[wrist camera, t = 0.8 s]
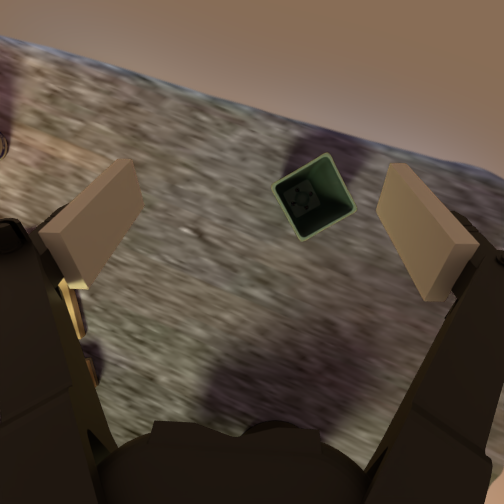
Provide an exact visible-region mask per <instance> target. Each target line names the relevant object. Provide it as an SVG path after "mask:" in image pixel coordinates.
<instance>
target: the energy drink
mask: <svg viewBox="0 0 504 504" xmlns="http://www.w3.org/2000/svg"><path fill="white" fill-rule="evenodd" d="M6 152H7V142H6V139H5V137H4V136H3V134H2V133H1V132H0V160H2V159H3V158H4V157H5V155H6Z"/></svg>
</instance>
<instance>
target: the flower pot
mask: <svg viewBox="0 0 504 504" xmlns="http://www.w3.org/2000/svg"><path fill="white" fill-rule="evenodd" d="M297 188H298V189H299V191H296V189H297ZM271 189H272V192H273V194H274V195H275V197H276V199H277V201H278V203H279V204H280V206H281V208H282V210H283V212H284V213H285V215H286V217H287V219H288V221H289V223H290V225H291V226H292V228H293V230H294V232H295V234H296V235H297V237H298V239H299V240H300V241H305V240H307V239H309V238H311V237H312V236H314V235H316V234H317V233H319V232H321V231H323V230H324V229H326V228H328V227H329V226H331V225H333V224H335V223H337V222H338V221H340V220H342V219H344V218H346V217H347V216H349V215H351V214H353V213H354V212H356V211H357V206H356V204H355V202H354V200H353V198H352V196H351V194H350V193H349V191H348V189H347V187H346V185H345V183H344V181H343V179H342V177H341V175H340V173H339V171H338V169H337V167H336V165H335V163H334V161H333V158H332V156H331V155H330V154H329V153H328V152H326V153H324V154H322V155H320V156H319V157H317V158H316V159H314V160H312V161H311V162H309V163H307V164H306V165H304V166H302V167H300V168H299V169H297V170H295V171H294V172H292V173H290V174H289V175H287V176H285V177H283V178H282V179H280V180H278V181H276V182H274V183H273V184H272V185H271ZM310 192H312V195H309V193H310ZM292 202H294V203H295V205H292ZM305 206H308V209H305Z"/></svg>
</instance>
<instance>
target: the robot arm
mask: <svg viewBox="0 0 504 504" xmlns="http://www.w3.org/2000/svg"><path fill="white" fill-rule="evenodd" d="M144 206H145V205H144V202H143V198H142V194H141V191H140V187H139V183H138V179H137V176H136V172H135V168H134V165H133V161H132V159H117V160H116V161H115V162H114V163H113V164H112V165H110V166H109V167H108V168H107V169H106V170H105V171H104V172H103V173H102V174H101V175H100V176H98V177H97V178H96V179H95V180H94V181H93V182H92V183H91V184H90V185H89V186H88V187H87V188H85V189H84V190H83V191H82V192H81V193H80V194H79V195H78V196H77V197H76V198H75V199H74V200H72V201H71V202H70V203H68V204H66V205H64V206H62V207H60V208H58V209H57V210H56V211H55V212H54V213H52V214H51V215H50V217H48V218H47V219H46V220H45V221H44V222H42V223H41V224H40V225H39V226H38V227H37V228H36V229H35V230H34V231H32V232H31V233H30V234H29V235H28V234H27V232H26V230H25V229H24V227H23V225H22V224H21V222H20V221H19V220H18V219H14V218H4V219H0V412H1V424H0V504H484V502H485V498H486V494H487V490H488V486H489V482H490V478H491V473H492V460H491V458H489V457H488V456H486V455H485V448H486V444H487V440H488V436H489V433H490V429H491V426H492V422H493V418H494V415H495V411H496V408H497V404H498V401H499V397H500V393H501V390H502V386H503V383H504V251H503V250H496V249H495V248H494V246H493V245H492V244H491V243H490V242H489V241H488V240H487V239H486V238H485V237H484V236H483V235H482V234H481V233H478V230H477V229H476V228H475V227H474V226H473V225H472V224H471V223H470V222H469V221H468V220H467V219H466V217H464V216H462V215H460V214H459V213H457V212H455V211H449V210H448V209H447V208H446V207H445V206H444V205H443V203H442V202H441V201H440V200H439V199H438V198H437V197H436V196H435V195H434V194H433V192H432V191H431V190H430V189H429V188H428V187H427V186H426V185H425V184H424V183H423V182H422V180H421V179H420V178H419V177H418V176H417V175H416V174H415V173H414V172H413V171H412V170H411V168H410V167H409V166H408V165H407V164H406V163H390V165H389V168H388V172H387V175H386V178H385V182H384V185H383V188H382V192H381V195H380V198H379V202H378V205H377V208H376V213H377V214H378V216H379V218H380V220H381V222H382V224H383V226H384V228H385V229H386V231H387V233H388V235H389V237H390V239H391V241H392V242H393V244H394V246H395V248H396V250H397V252H398V254H399V256H400V257H401V259H402V261H403V263H404V265H405V267H406V269H407V271H408V272H409V274H410V276H411V278H412V280H413V282H414V284H415V285H416V287H417V289H418V291H419V293H420V295H421V297H422V299H423V300H424V301H431V302H445V301H446V299H447V297H448V296H449V294H450V292H451V291H452V292H453V293H454V295H455V296H456V298H457V300H456V301H455V303H454V304H453V306H452V307H451V309H450V310H449V312H448V314H447V315H446V317H445V318H444V319H445V321H444V323H443V325H442V327H441V329H440V331H439V332H438V334H437V336H436V338H435V340H434V342H433V344H432V346H431V348H430V349H429V351H428V353H427V355H426V357H425V359H424V361H423V363H422V365H421V367H420V368H419V370H418V372H417V374H416V376H415V378H414V380H413V382H412V384H411V385H410V387H409V389H408V391H407V393H406V395H405V397H404V399H403V401H402V403H401V404H400V406H399V408H398V410H397V412H396V414H395V416H394V418H393V420H392V422H391V423H390V425H389V427H388V429H387V431H386V433H385V435H384V437H383V439H382V440H381V442H380V444H379V446H378V448H377V450H376V451H375V453H374V455H373V456H372V458H371V460H370V461H369V463H368V465H367V466H366V468H365V470H364V471H363V470H362V469H361V468H360V467H359V466H358V465H357V464H356V463H355V462H354V461H353V460H351V459H350V458H349V457H348V456H346V455H345V454H343V453H342V452H340V451H339V450H337V449H336V448H334V447H332V446H330V445H328V444H325V443H323V442H320V433H319V430H315V429H300V428H298V427H297V426H295V425H293V424H290V423H287V422H282V421H268V422H264V423H260V424H258V425H256V426H254V427H252V428H250V429H249V430H247V431H246V432H245V433H244V434H243V435H242V436H240V437H232V436H229V435H226V434H223V433H220V432H218V431H215V430H212V429H210V428H207V427H204V426H201V425H199V424H196V423H190V422H172V421H154V424H153V428H152V431H151V433H148V434H145V435H142V436H139V437H137V438H135V439H133V440H131V441H129V442H127V443H125V444H123V445H122V446H120V447H119V448H118V446H117V444H116V442H115V440H114V439H113V437H112V434H111V432H110V430H109V427H108V424H107V421H106V418H105V415H104V412H103V410H102V407H101V404H100V401H99V398H98V395H97V392H96V389H95V386H94V383H93V380H92V378H91V375H90V372H89V369H88V366H87V363H86V360H85V357H84V354H83V351H82V348H81V346H80V343H79V340H78V337H77V334H76V331H75V328H74V325H73V322H72V319H71V316H70V314H69V311H68V308H67V305H66V302H65V299H64V296H63V293H62V291H61V289H60V287H59V286H58V284H59V283H60V282H61V281H62V279H63V278H64V279H65V281H66V283H67V284H68V286H69V288H70V289H89V288H90V286H91V285H92V283H93V282H94V280H95V279H96V277H97V276H98V274H99V273H100V271H101V270H102V268H103V267H104V265H105V264H106V262H107V261H108V259H109V258H110V256H111V255H112V254H113V252H114V251H115V249H116V248H117V246H118V245H119V243H120V242H121V240H122V239H123V237H124V236H125V234H126V233H127V231H128V230H129V228H130V227H131V225H132V224H133V222H134V221H135V219H136V218H137V216H138V215H139V213H140V212H141V210H142V209H143V207H144Z"/></svg>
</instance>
